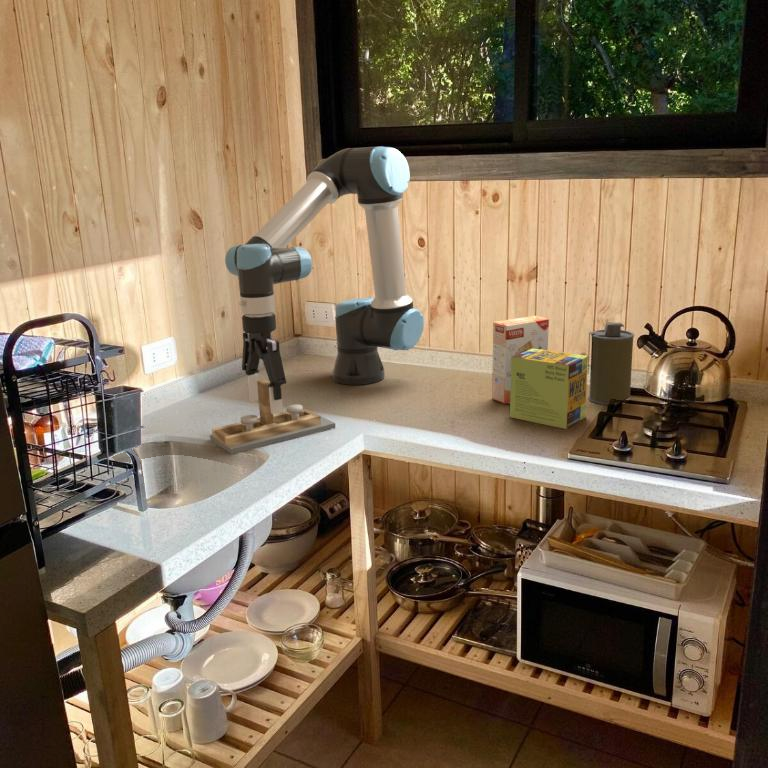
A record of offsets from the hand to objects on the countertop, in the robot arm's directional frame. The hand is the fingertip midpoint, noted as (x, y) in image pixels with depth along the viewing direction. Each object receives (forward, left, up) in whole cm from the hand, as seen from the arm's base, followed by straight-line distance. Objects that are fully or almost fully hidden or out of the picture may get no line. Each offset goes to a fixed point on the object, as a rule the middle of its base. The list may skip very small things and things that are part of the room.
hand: (265, 406), depth 187 cm
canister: (-81, +33, -7) cm, 88 cm away
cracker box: (-65, +17, -7) cm, 68 cm away
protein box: (-59, +33, -7) cm, 68 cm away
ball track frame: (0, 0, -6) cm, 6 cm away
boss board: (-2, 0, -7) cm, 7 cm away
